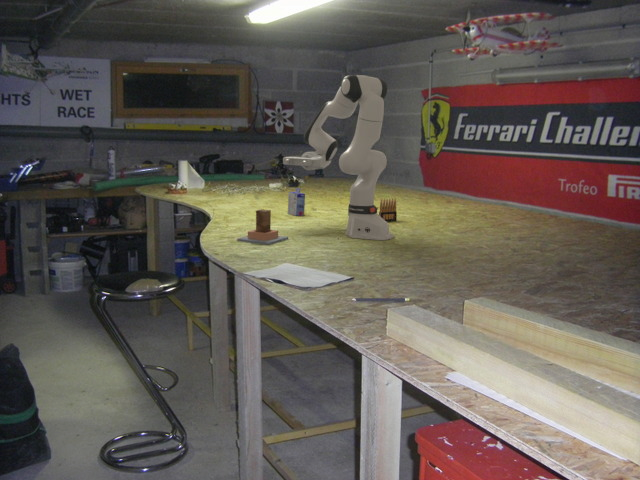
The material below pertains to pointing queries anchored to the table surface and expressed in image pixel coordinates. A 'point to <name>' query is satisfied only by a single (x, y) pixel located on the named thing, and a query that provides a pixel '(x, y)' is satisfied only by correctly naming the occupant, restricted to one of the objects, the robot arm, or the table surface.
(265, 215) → the wooden post
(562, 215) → the table surface
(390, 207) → the ammunition clip
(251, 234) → the housing
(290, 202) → the ink cartridge box
